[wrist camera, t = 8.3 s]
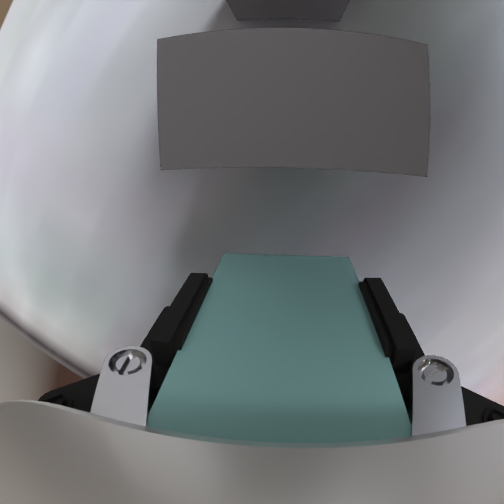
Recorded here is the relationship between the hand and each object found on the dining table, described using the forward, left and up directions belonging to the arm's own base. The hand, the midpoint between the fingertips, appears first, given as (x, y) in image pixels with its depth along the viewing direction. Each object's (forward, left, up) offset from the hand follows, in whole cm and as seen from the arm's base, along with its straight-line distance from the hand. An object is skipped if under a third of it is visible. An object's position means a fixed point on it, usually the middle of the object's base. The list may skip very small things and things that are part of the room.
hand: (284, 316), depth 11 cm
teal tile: (0, 0, -2) cm, 2 cm away
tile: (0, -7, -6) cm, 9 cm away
